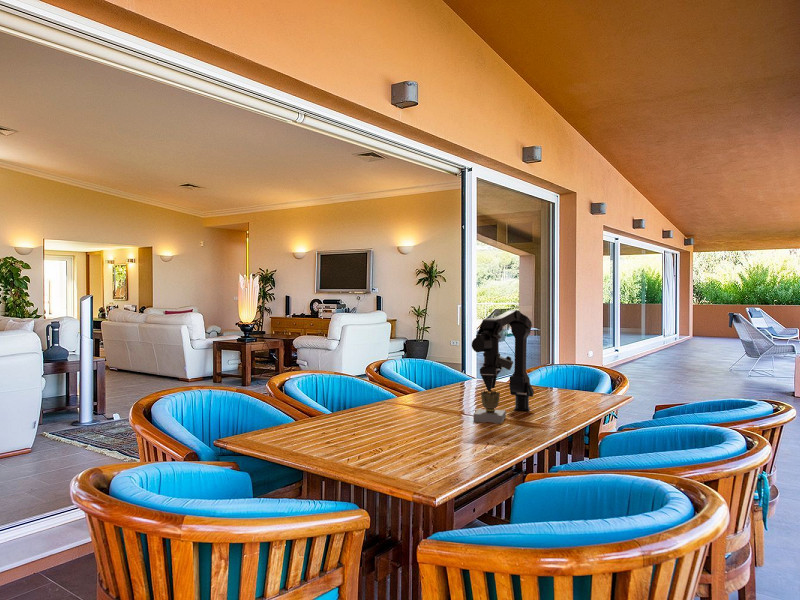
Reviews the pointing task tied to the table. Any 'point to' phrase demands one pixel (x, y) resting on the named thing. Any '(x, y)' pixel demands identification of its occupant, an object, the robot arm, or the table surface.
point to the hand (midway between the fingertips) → (491, 389)
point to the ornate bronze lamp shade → (490, 400)
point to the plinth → (489, 416)
